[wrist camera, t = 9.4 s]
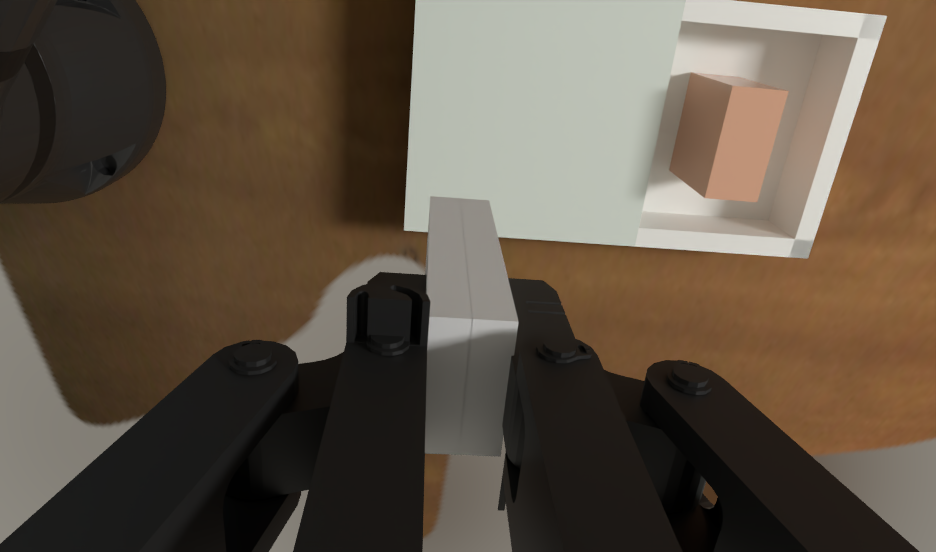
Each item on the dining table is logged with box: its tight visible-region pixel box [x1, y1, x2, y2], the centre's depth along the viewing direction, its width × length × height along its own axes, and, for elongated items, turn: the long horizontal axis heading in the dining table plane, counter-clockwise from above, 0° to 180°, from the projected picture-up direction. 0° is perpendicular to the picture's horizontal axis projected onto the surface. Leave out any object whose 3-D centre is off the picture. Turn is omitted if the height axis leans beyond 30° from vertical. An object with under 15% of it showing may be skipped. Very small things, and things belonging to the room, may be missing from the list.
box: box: [635, 0, 887, 258], centre depth 38 cm, size 11×14×4 cm
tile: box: [669, 72, 789, 202], centre depth 37 cm, size 6×6×3 cm
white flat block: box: [404, 0, 686, 246], centre depth 37 cm, size 14×14×4 cm
